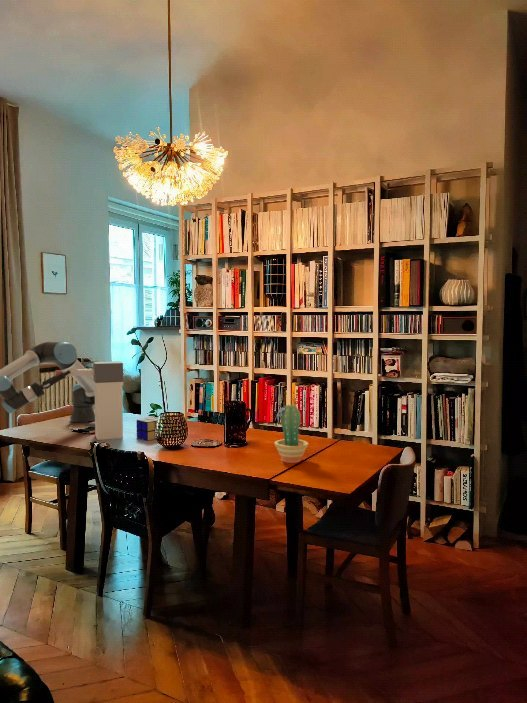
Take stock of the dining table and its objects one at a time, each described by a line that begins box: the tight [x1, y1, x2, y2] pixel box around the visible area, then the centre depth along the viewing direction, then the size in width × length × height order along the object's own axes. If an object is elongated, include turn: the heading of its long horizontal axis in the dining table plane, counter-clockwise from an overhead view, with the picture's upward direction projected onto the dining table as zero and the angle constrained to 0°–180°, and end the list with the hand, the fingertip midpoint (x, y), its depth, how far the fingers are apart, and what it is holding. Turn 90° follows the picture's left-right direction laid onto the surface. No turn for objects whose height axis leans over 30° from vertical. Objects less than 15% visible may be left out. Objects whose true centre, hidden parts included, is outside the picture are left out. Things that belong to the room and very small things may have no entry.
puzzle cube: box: [136, 417, 159, 442], centre depth 286 cm, size 10×10×10 cm
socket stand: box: [92, 360, 124, 441], centre depth 288 cm, size 14×14×40 cm
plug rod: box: [55, 368, 95, 377], centre depth 282 cm, size 25×3×3 cm, turn 112°
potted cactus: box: [274, 404, 309, 464], centre depth 243 cm, size 15×15×25 cm
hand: (75, 367), depth 281 cm, fingers closed on plug rod, 3 cm apart
